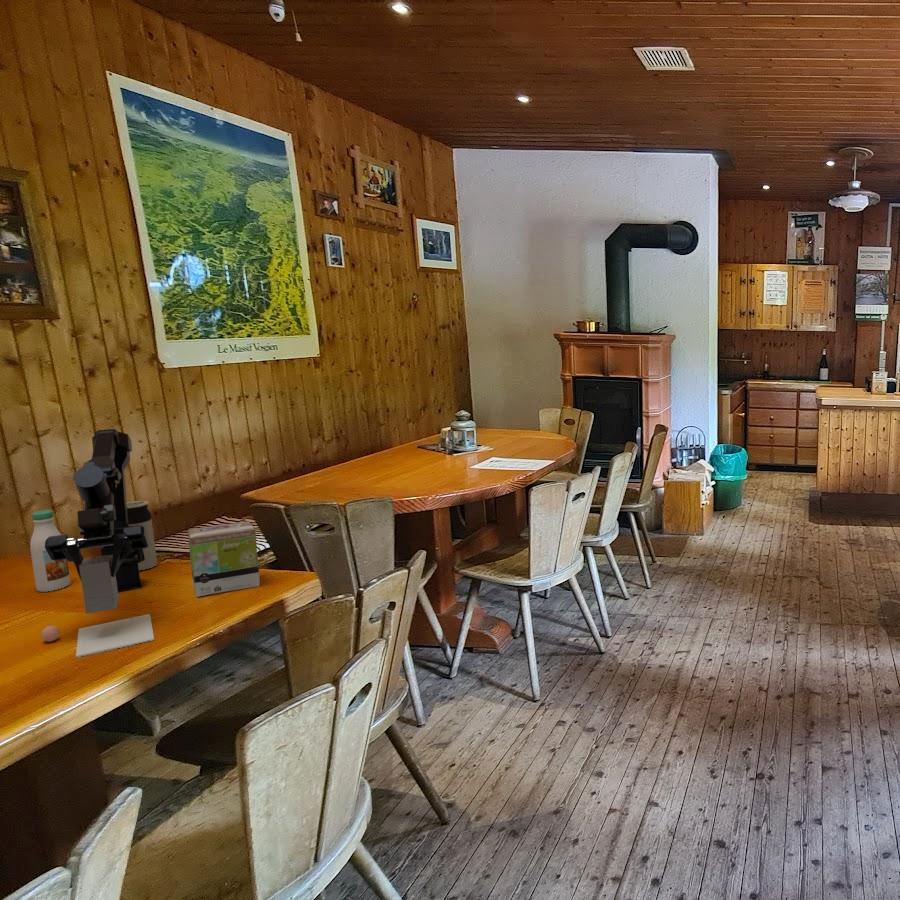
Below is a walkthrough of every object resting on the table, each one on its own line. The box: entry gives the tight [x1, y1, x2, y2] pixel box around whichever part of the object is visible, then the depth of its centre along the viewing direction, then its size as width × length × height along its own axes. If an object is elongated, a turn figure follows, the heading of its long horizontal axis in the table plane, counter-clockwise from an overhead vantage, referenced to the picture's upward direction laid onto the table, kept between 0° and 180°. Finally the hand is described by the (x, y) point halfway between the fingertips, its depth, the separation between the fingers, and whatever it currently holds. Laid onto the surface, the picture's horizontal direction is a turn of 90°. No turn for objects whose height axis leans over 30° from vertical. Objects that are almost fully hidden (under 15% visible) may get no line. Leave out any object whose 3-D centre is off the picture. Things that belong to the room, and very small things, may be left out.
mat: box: [75, 613, 155, 659], centre depth 145 cm, size 14×16×1 cm
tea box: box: [187, 520, 261, 598], centre depth 171 cm, size 15×10×15 cm
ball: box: [40, 625, 60, 643], centre depth 144 cm, size 3×3×3 cm
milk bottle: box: [29, 509, 71, 593], centre depth 179 cm, size 8×8×20 cm
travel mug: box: [127, 500, 158, 571], centre depth 191 cm, size 8×8×18 cm
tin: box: [79, 555, 120, 614], centre depth 144 cm, size 5×5×10 cm
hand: (97, 578), depth 142 cm, fingers closed on tin, 5 cm apart
